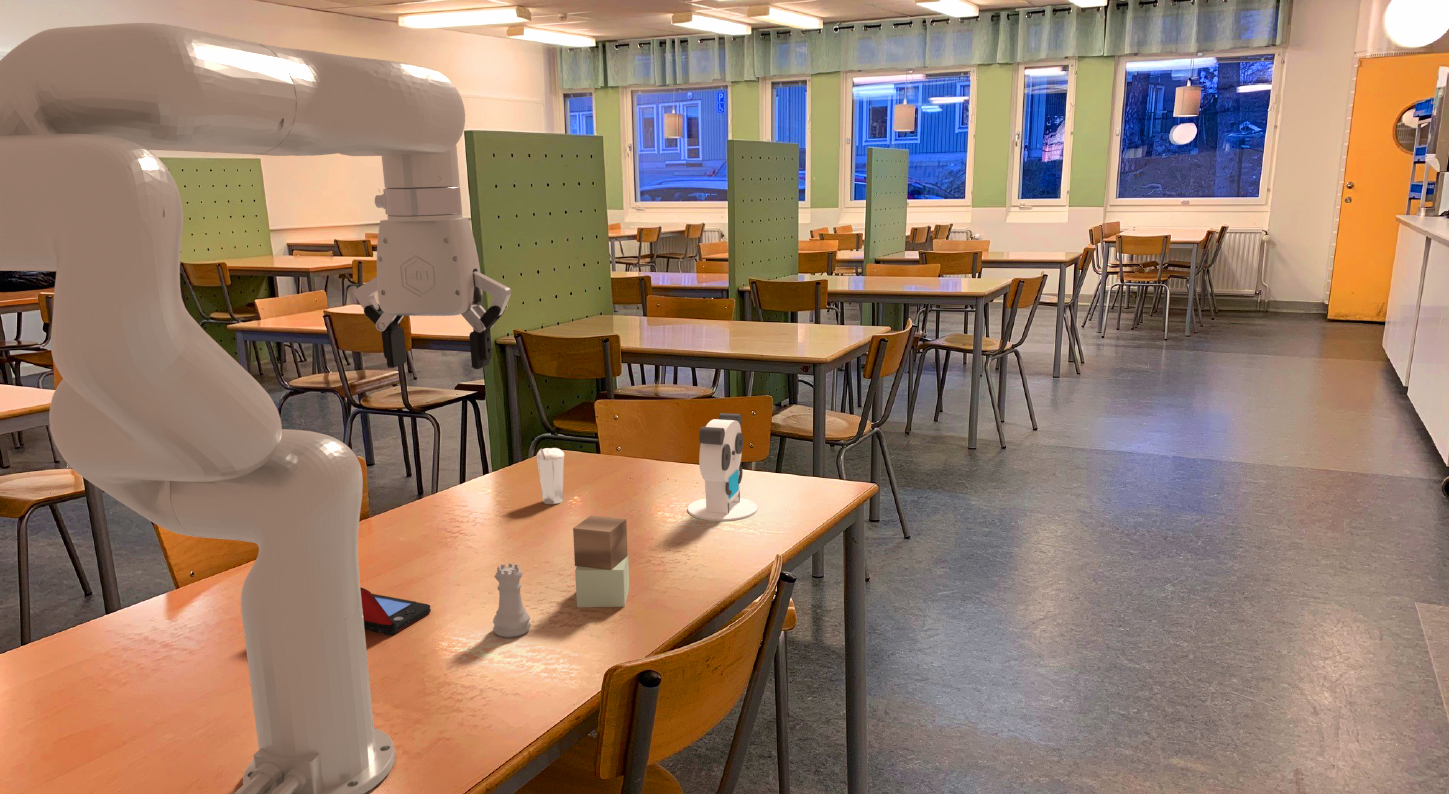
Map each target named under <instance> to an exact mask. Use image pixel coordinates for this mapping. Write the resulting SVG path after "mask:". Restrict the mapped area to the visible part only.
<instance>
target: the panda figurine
mask: <svg viewBox="0 0 1449 794" xmlns="http://www.w3.org/2000/svg"><path fill="white" fill-rule="evenodd" d="M742 424H743V415H742V414H740V413H726V412H725V413H723V412H720V413H719V415H718V418H717V419H713V418H712V419H711V420H710V421H709V422H707V424H706V425H705V426H701V427H700V429H699V435H698V440H699V444H700V445H699V447H700V448H699V454H698V455H699V457H698V459H699V461H698V463H699V464H698V465H699V471H700V475H701V477H702V479H703V480H704V488H705V489H704V490H705V491H704V493H705V497H704V498H701V499H697V500H694V501H693V502H691V503H689V504H688V506H687V512H688V514H689V515H691V516H692V517H694V518H697V519H701V520H704V521H705V520H706V521H711V522H731V521H738V520H743V519H747V518H750V517H753V515H755V514H757V512H758V509H759V508H758V505H757V503H756V502H754V501H752V500H751V499H746V498H743V497H741V489H740V484H741V483H742V479H743V474H744V473H743V472H744V471H743V466H741V461H742V454H743V453H742V452H743V450H744V449H743V448H744V436H743V433H742V428H741V426H742Z"/></svg>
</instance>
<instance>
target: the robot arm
mask: <svg viewBox="0 0 1449 794" xmlns="http://www.w3.org/2000/svg"><path fill="white" fill-rule="evenodd" d="M465 111H466V110H465V105H464V102H463V98H462V97H461V94H460V92H459V90H458V89H457V87H456V86H455V84H454V83H453V82H452V80H450V79H449V78H448V77H447V76H446V75H445V74H443V73H442V72H441V71H438V70H436V69H433V68H427V67H423V66H419V65H414V64H411V63H406V62H400V61H395V60H394V61H393V60H385V59H379V58H378V59H377V58H368V57H366V58H365V57H357V56H351V55H350V56H347V55H341V54H334V53H329V52H323V51H322V52H321V51H316V50H315V51H314V50H307V49H299V48H287V47H280V46H274V45H269V44H263V43H258V42H254V41H249V40H245V39H239V38H234V37H230V36H225V35H222V34H221V35H220V34H216V33H211V32H207V31H202V30H197V29H192V28H187V27H182V26H179V25H178V26H177V25H173V24H166V23H165V24H164V23H155V22H154V23H153V22H130V23H129V22H127V23H113V24H111V23H110V24H100V25H99V24H97V25H95V24H94V25H85V26H84V25H82V26H66V27H65V26H64V27H55V28H47V29H46V30H43V31H42V30H41V31H39V32H37V33H35V34H34V35H32V36H30V37H29V38H27V39H25V40H24V41H22V42H21V43H19V44H17V46H15V47H13V49H11V50H10V51H9V52H8V53H7V54H6V55H4V56H3V57H2V58H1V59H0V271H2V272H3V271H4V272H7V271H8V272H9V271H12V272H14V271H16V272H55V282H54V290H53V291H54V293H53V308H52V322H51V330H50V332H51V333H50V349H51V350H50V351H51V356H52V361H53V363H54V365H55V367H56V369H57V371H58V373H59V375H60V377H62V380H61V381H60V383H58V385H57V387H56V388H55V390H54V393H53V395H52V398H51V401H50V405H49V414H48V415H49V416H48V417H49V427H50V433H51V435H52V439H53V442H54V444H55V446H56V448H57V450H58V452H59V453H60V455H61V457H62V458H63V460H64V461H65V463H67V465H68V466H69V467H70V468H71V469H72V470H73V471H75V473H77V475H79V476H81V477H82V478H84V479H85V480H86V481H88V482H89V483H90V484H92V485H93V486H95V487H97V488H98V489H100V490H102V491H103V492H104V493H106V494H107V495H109V496H110V497H112V498H114V499H115V500H116V501H118V502H120V503H121V504H123V505H124V506H126V507H128V508H129V509H131V510H132V511H134V512H135V513H137V514H138V515H140V516H142V517H143V518H145V519H147V520H148V521H150V522H151V523H153V524H155V525H157V526H159V527H161V528H162V529H165V530H167V531H169V532H172V533H175V534H178V535H182V536H187V537H188V536H189V537H194V538H205V539H217V540H231V541H232V540H233V541H241V542H247V543H254V544H256V545H257V547H258V554H257V557H256V560H255V561H254V563H253V565H252V566H251V568H250V570H249V572H248V573H247V576H246V577H245V579H244V582H243V584H242V587H241V593H240V612H241V621H242V625H243V627H242V628H243V634H244V643H245V650H246V658H247V666H248V675H249V681H250V690H251V696H252V705H253V713H254V721H255V731H256V737H257V738H256V739H257V745H258V750H257V751H256V752H254V754H253V755H252V756H253V759H252V761H250V763H249V764H248V766H247V767H246V769H245V771H244V773H243V776H242V778H243V779H242V785H241V787H240V788H238V790H236V791H235V792H234V793H233V794H366V793H367V792H369V791H370V790H372V789H373V788H375V787H376V786H378V784H380V783H381V782H382V781H383V780H384V779H385V778H387V777H386V776H387V775H388V774H389V773H390V772H391V771H392V768H393V766H394V763H395V758H396V755H395V754H396V753H395V745H394V741H393V739H392V738H391V736H389V734H387V733H386V732H384V731H383V730H381V729H379V728H377V727H375V726H374V725H375V723H374V716H373V715H374V713H373V705H372V704H373V701H372V695H371V694H372V692H371V683H370V673H369V661H368V652H367V642H366V641H367V640H366V632H365V631H366V630H365V629H364V619H363V609H362V601H361V590H360V587H361V582H360V581H361V580H360V568H359V529H360V518H361V517H360V516H361V509H362V508H361V507H362V500H363V489H364V488H363V487H364V483H363V480H364V479H363V478H364V477H363V471H362V467H361V463H360V461H359V459H358V457H357V455H356V453H354V451H353V450H352V449H351V448H350V447H349V446H348V445H347V444H346V443H344V442H342V441H341V440H339V439H338V438H335V437H334V436H331V435H327V434H326V433H325V434H324V433H320V432H316V431H311V430H302V429H287V428H285V429H283V426H282V419H281V417H280V413H279V410H278V408H277V406H276V404H275V403H274V401H273V399H272V397H271V396H270V394H269V393H268V392H267V391H266V390H265V389H264V387H263V386H262V385H261V384H260V382H258V381H257V380H256V379H255V378H254V377H253V376H252V374H250V373H249V372H248V370H246V369H245V368H244V367H243V366H242V365H241V364H240V363H239V362H237V360H236V359H235V358H233V357H232V356H231V354H229V353H228V352H227V351H226V350H225V349H224V348H223V347H222V346H221V345H220V344H219V343H218V342H216V340H215V339H214V338H212V337H211V335H210V334H208V333H207V332H206V331H205V330H204V328H202V327H201V326H200V324H199V323H198V322H197V321H196V320H195V318H193V316H191V314H190V313H189V311H188V310H187V308H186V306H185V303H184V301H183V298H182V292H181V275H180V274H181V273H180V272H181V271H180V269H181V254H182V252H181V250H182V239H183V229H184V211H183V203H182V199H181V195H180V191H179V189H178V188H179V187H178V185H177V183H176V180H175V179H174V177H173V176H172V174H171V172H170V171H169V168H168V167H167V166H166V165H165V163H164V162H163V161H162V160H160V158H159V157H158V156H157V155H156V154H154V153H153V152H152V151H170V152H172V151H173V152H196V153H197V152H198V153H215V154H216V153H218V154H219V153H220V154H234V155H236V154H239V155H240V154H241V155H257V156H270V157H271V156H272V157H274V156H275V157H279V156H280V157H287V156H289V157H290V156H293V157H298V156H299V157H305V156H310V157H311V156H325V155H326V156H327V155H336V154H339V155H342V156H348V157H381V161H382V163H381V164H382V172H383V183H384V184H383V185H384V188H383V191H382V192H383V193H382V194H377V195H375V197H374V204H375V207H376V208H378V209H380V208H381V209H384V210H385V215H387V219H383V220H382V219H381V220H379V226H378V234H377V242H376V243H377V244H376V245H377V247H376V277H374V278H372V279H370V280H369V281H367V282H366V283H364V284H363V285H360V286H359V287H357V288H356V289H354V291H353V293H354V296H355V298H356V299H357V302H358V303H359V305H360V306H361V308H362V309H363V313H364V315H365V316H366V317H367V318H368V319H369V320H370V321H371V322H372V323H373V324H374V326H375V329H376V330H377V331H379V332H381V339H382V349H383V357H384V358H385V360H386V366H387V368H389V369H394V368H397V367H399V366H401V365H404V364H405V363H406V362H408V361H407V359H408V358H407V350H406V349H407V348H406V338H405V330H404V328H403V326H399V324H400V323H401V321H402V319H403V318H404V317H405V316H406V317H411V316H412V317H415V316H416V317H418V316H419V317H428V316H429V317H434V316H436V317H440V316H441V317H444V316H445V317H446V316H448V317H450V316H452V317H453V316H459V315H461V316H462V317H463V318H464V319H465V320H466V322H467V323H468V324H469V325H470V326H471V327H472V329H473V331H471V332H470V333H469V348H470V360H471V367H472V368H473V370H481V369H482V368H484V367H486V366H488V365H489V364H490V360H491V359H492V356H493V349H492V337H491V335H492V334H491V329H492V328H493V327H494V326H495V324H496V322H497V321H498V320H499V319H500V318H501V317H502V315H504V313H505V308H506V307H507V305H508V303H509V300H510V297H511V296H512V289H511V288H510V287H508V286H506V285H504V284H503V283H500V282H499V281H496V280H494V279H493V278H491V277H489V276H487V275H485V274H483V273H481V267H480V261H479V255H478V252H477V250H478V249H477V247H476V246H477V245H476V242H475V237H474V233H473V230H472V227H471V223H470V219H469V218H468V217H463V207H462V195H461V194H462V193H461V187H460V186H461V185H460V184H461V183H460V173H459V161H458V159H459V158H458V147H457V144H458V143H459V141H460V139H461V138H462V135H463V134H464V130H465V126H466V125H465V124H466V112H465ZM483 291H484V292H485V293H487V294H489V295H490V296H492V301H491V306H490V307H489V308H487V310H486V309H485V308H484V307H483V306H482V304H483V301H484V300H483V298H484V297H483V296H484V295H483V294H484V293H483ZM376 293H377V295H378V296H377V298H378V303H377V300H376V298H375V295H376Z"/></svg>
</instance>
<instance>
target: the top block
mask: <svg viewBox="0 0 1449 794" xmlns="http://www.w3.org/2000/svg"><path fill="white" fill-rule="evenodd" d="M627 525H628V524H627V519H626V518H618V517H612V516H611V517H609V516H599V515H590V516H588V517H586V518H585V519H584V520H582V521H581V522H579V523H578V524H577V525H575V526H574V527H573V528H572V531H573V534H572V535H573V555H574V556H573V557H574V566H575V567H577V566H580V567H588V568H596V569H605V570H612V569H613V568H614V567H616V566H617V565H618V564H619V563H620V562H621V561H622V560H624V559H625V558H626V557H627V556H628V557H629V551H628V532H627V531H628V526H627Z"/></svg>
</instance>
